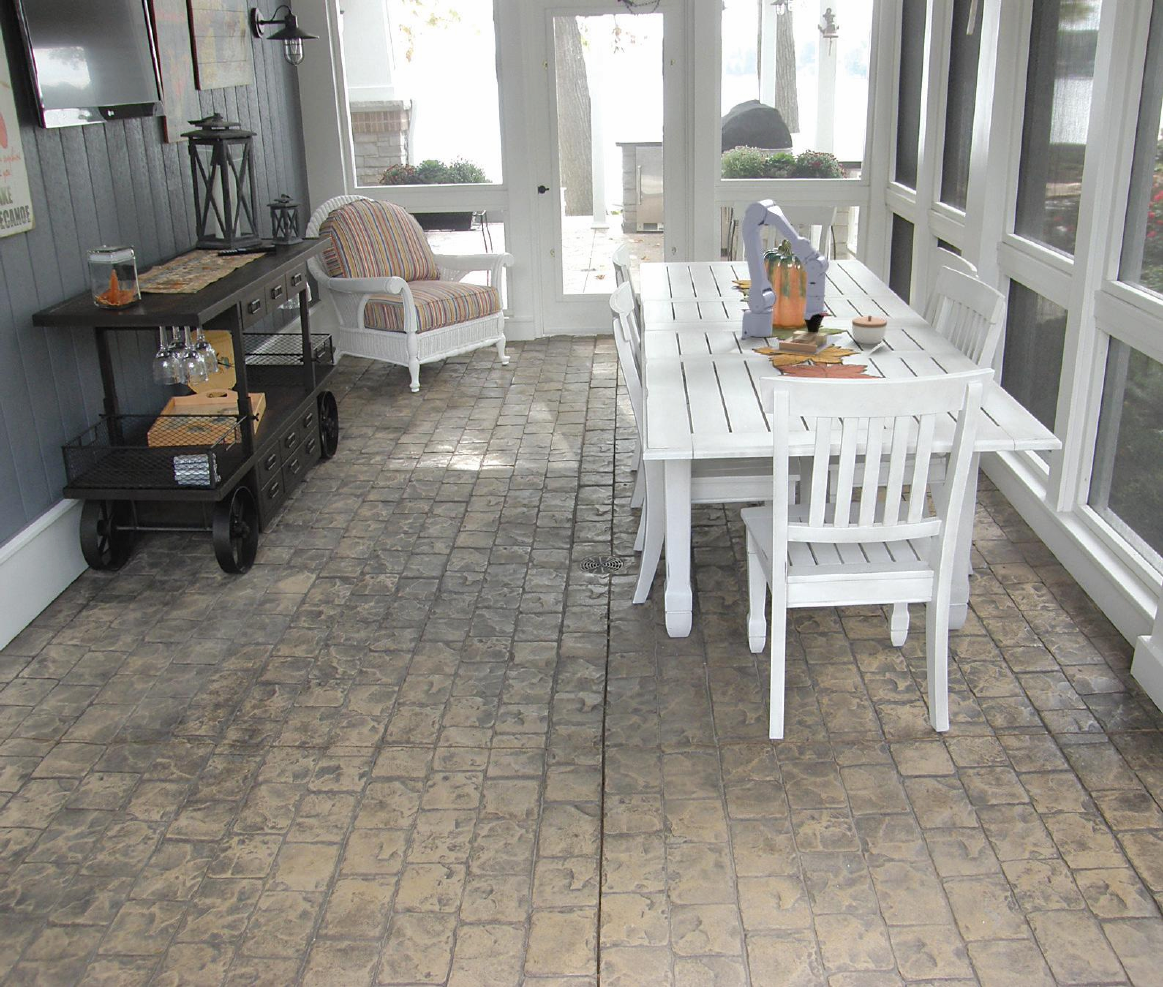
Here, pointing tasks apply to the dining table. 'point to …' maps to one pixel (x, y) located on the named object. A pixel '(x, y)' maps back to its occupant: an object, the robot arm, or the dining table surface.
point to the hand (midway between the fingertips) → (812, 337)
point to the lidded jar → (868, 329)
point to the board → (803, 346)
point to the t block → (809, 337)
